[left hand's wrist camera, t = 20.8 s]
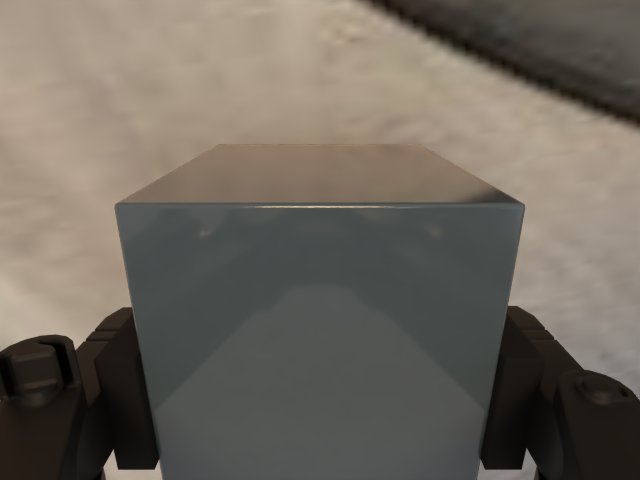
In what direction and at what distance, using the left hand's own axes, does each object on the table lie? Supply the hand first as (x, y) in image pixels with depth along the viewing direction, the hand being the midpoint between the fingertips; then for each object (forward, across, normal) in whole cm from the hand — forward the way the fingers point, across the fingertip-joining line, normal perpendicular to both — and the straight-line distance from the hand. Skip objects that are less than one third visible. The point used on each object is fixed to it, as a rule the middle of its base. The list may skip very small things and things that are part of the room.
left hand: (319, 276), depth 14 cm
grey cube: (+1, 0, 0) cm, 1 cm away
